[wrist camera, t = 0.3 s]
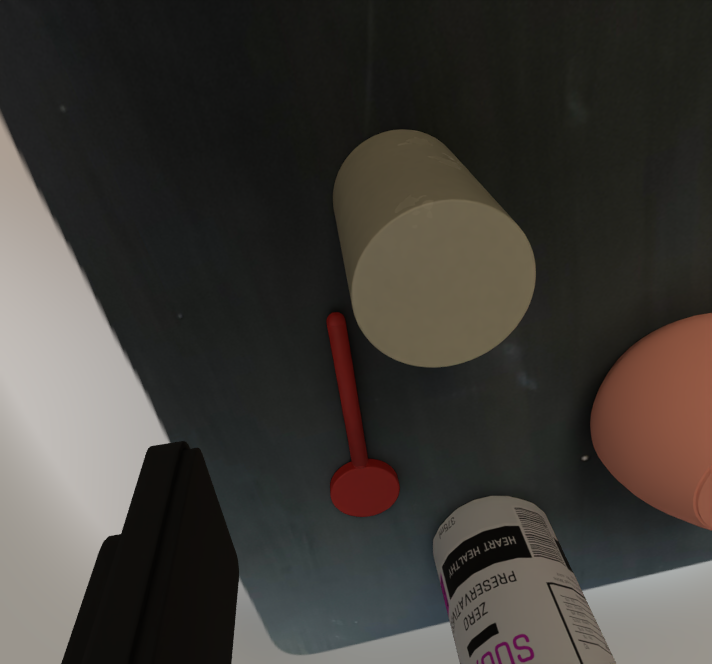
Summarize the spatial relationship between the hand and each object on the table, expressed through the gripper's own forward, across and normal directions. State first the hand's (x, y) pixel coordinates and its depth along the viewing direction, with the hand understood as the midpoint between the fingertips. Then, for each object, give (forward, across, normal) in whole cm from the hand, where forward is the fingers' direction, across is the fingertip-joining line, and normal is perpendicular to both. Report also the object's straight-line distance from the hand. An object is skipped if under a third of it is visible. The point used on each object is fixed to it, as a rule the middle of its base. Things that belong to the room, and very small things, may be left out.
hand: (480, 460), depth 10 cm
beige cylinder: (+21, -2, +2) cm, 21 cm away
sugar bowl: (+21, -18, +17) cm, 32 cm away
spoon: (+21, +2, +15) cm, 26 cm away
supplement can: (+21, -6, +27) cm, 35 cm away
